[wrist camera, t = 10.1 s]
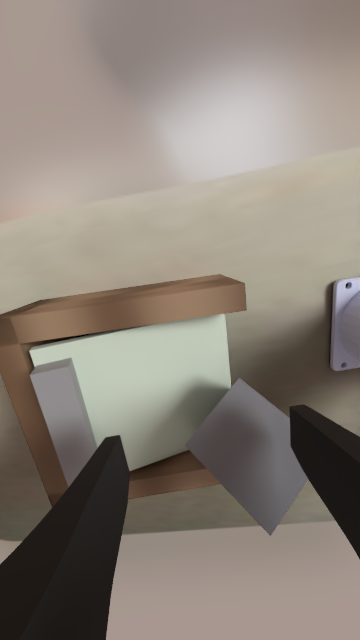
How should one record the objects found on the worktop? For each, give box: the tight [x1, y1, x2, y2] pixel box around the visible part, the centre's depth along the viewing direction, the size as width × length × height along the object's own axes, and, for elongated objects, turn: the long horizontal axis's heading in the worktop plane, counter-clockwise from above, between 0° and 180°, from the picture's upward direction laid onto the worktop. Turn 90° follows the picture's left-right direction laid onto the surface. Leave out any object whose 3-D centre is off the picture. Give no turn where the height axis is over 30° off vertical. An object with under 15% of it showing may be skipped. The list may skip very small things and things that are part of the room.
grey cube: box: [185, 378, 308, 536], centre depth 14 cm, size 4×5×5 cm
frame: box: [0, 274, 246, 507], centre depth 17 cm, size 14×14×6 cm
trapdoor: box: [29, 314, 231, 487], centre depth 15 cm, size 12×10×2 cm
